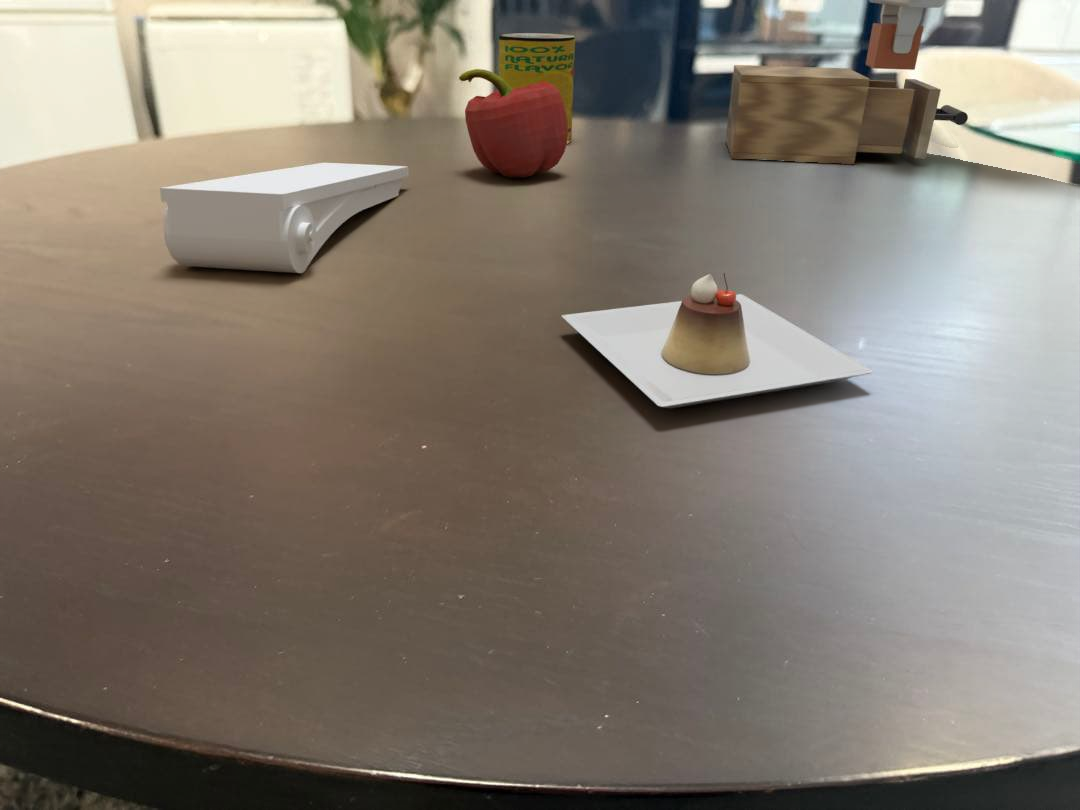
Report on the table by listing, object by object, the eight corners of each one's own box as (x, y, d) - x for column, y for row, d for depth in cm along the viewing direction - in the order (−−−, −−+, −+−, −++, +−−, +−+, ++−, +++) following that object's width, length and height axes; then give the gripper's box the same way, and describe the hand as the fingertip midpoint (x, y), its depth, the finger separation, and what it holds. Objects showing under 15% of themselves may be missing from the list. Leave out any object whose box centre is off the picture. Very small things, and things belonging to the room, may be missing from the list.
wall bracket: (330, 241, 82) (175, 302, 56) (308, 166, 80) (137, 193, 54) (426, 221, 80) (312, 274, 54) (406, 143, 78) (278, 159, 52)
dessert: (870, 391, 42) (891, 301, 40) (657, 428, 38) (667, 330, 36) (739, 310, 52) (749, 234, 50) (560, 333, 48) (562, 252, 46)
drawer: (938, 144, 102) (952, 80, 99) (964, 160, 93) (981, 90, 89) (798, 138, 104) (807, 75, 101) (810, 153, 95) (822, 85, 91)
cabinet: (835, 146, 104) (849, 68, 100) (854, 164, 94) (870, 78, 90) (725, 141, 106) (734, 64, 102) (731, 159, 96) (741, 74, 91)
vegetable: (449, 181, 82) (446, 73, 78) (473, 161, 92) (471, 63, 87) (558, 187, 81) (561, 77, 76) (572, 166, 90) (575, 67, 86)
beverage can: (579, 146, 101) (584, 38, 96) (506, 147, 99) (507, 37, 94) (561, 133, 109) (564, 33, 103) (493, 135, 107) (492, 32, 102)
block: (904, 66, 96) (913, 24, 94) (914, 69, 92) (924, 26, 90) (865, 64, 96) (872, 23, 94) (873, 68, 93) (881, 24, 91)
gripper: (986, -101, 78) (950, 59, 84) (926, -86, 96) (900, 45, 102) (916, -102, 78) (885, 57, 85) (869, -87, 96) (847, 43, 103)
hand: (893, 50), depth 93 cm, fingers closed on block, 4 cm apart
